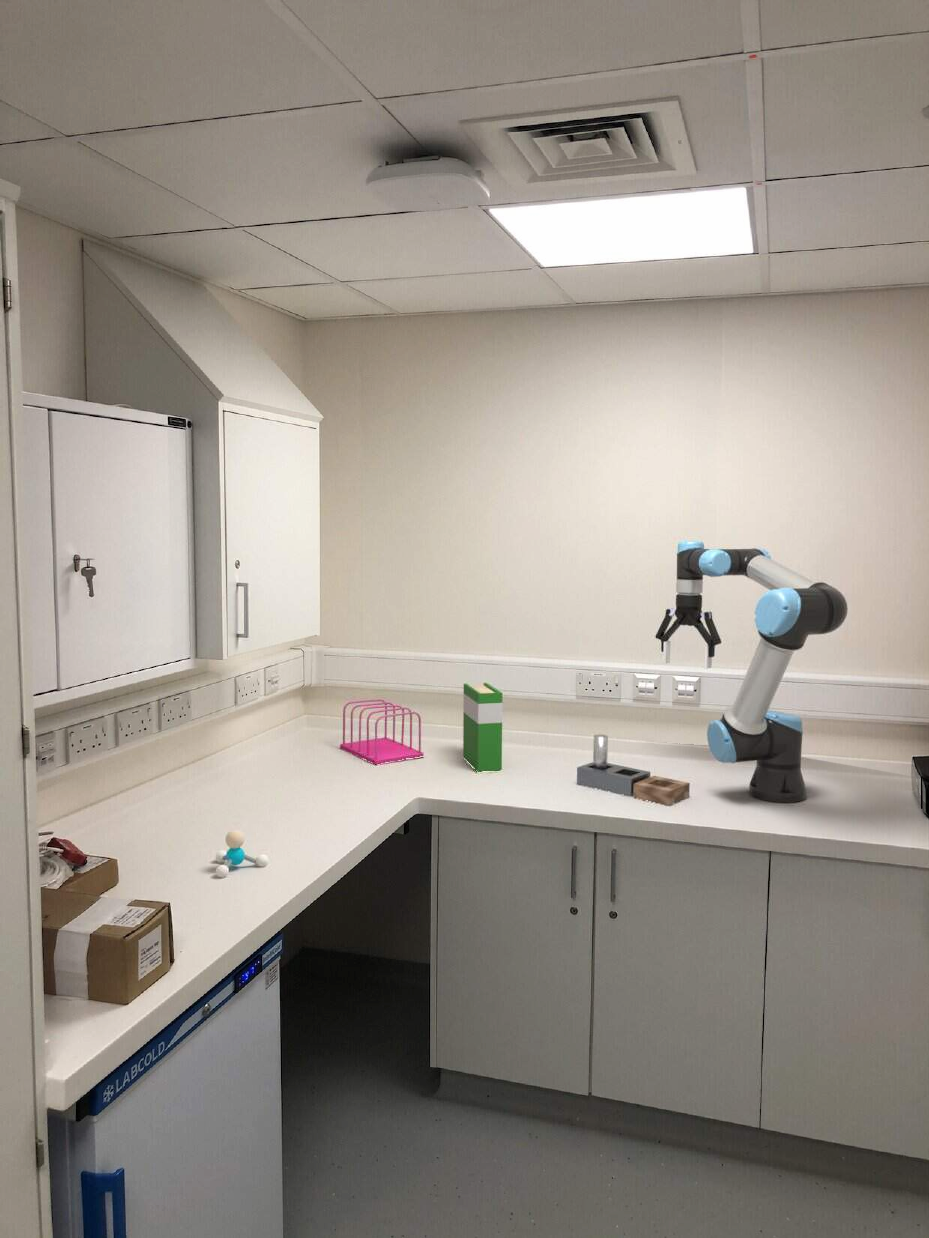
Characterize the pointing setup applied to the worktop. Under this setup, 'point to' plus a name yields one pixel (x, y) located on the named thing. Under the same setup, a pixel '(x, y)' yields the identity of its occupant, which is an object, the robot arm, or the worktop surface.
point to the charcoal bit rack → (611, 778)
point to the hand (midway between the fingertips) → (686, 665)
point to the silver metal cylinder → (600, 752)
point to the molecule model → (236, 854)
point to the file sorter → (381, 747)
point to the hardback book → (482, 727)
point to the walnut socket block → (661, 790)
